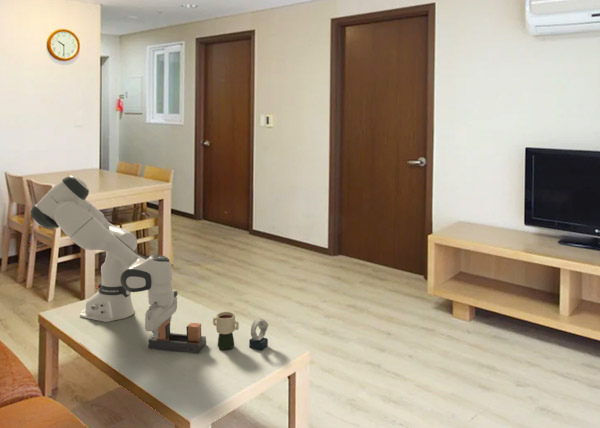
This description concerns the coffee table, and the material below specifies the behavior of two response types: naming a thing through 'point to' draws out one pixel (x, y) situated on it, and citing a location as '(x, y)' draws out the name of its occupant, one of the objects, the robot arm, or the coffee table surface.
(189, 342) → the dark grey tray
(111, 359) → the coffee table surface
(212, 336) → the coffee table surface
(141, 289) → the robot arm
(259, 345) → the watch
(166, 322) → the orange block
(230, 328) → the character mug
